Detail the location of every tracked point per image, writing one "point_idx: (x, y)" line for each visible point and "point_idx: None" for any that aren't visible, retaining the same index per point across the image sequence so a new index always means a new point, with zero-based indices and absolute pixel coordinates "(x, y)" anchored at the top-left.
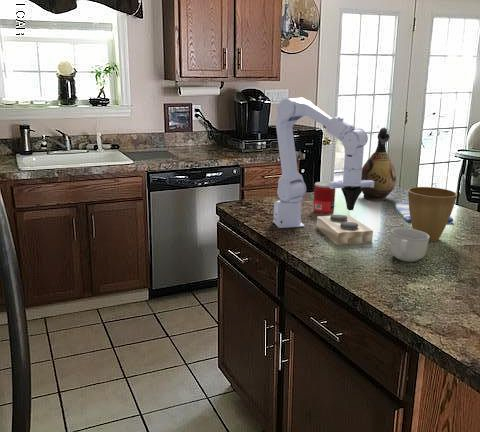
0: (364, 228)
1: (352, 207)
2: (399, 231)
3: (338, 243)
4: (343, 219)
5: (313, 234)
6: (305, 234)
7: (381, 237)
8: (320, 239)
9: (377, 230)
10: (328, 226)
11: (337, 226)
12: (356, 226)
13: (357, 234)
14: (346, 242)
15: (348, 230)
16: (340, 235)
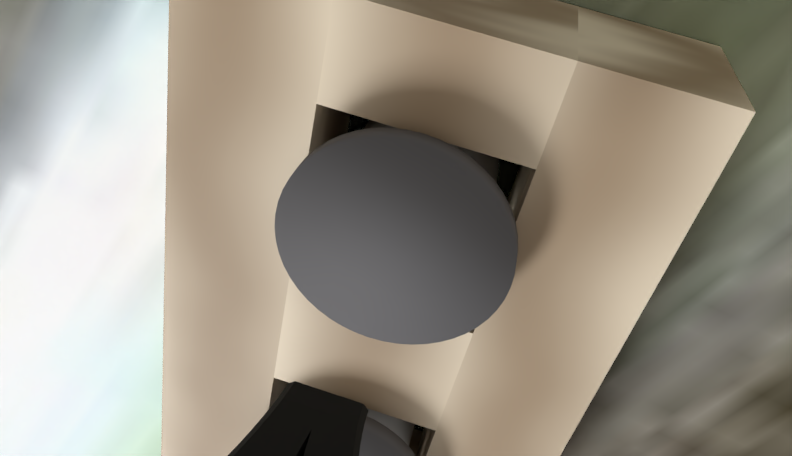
0: (236, 94)
1: (295, 422)
2: None
3: (700, 46)
4: None
5: (664, 406)
6: (736, 440)
7: (59, 29)
8: (729, 278)
9: (19, 212)
10: (597, 378)
11: (524, 314)
12: (352, 138)
13: (425, 3)
14: (592, 15)
15: (510, 124)
16: (698, 78)
